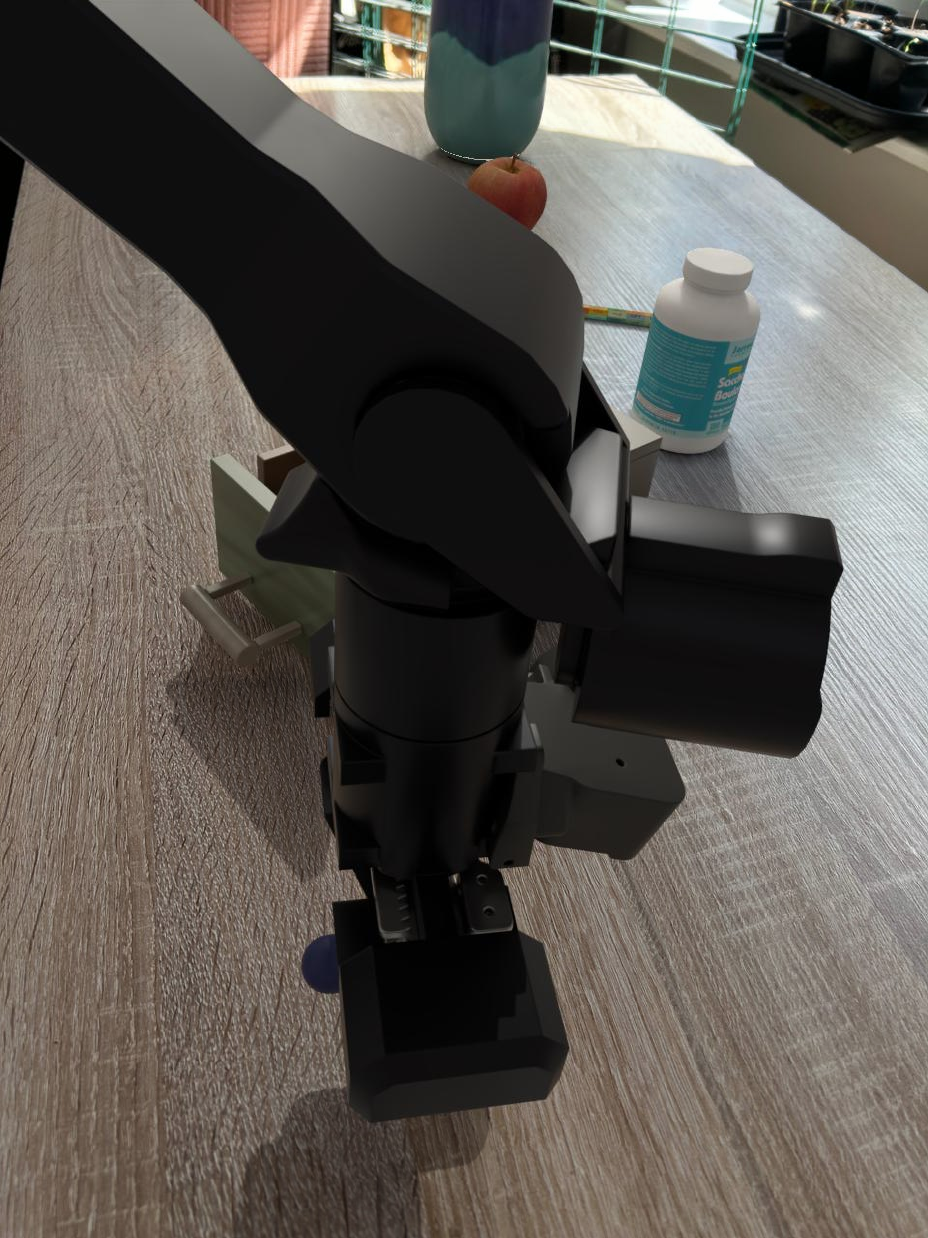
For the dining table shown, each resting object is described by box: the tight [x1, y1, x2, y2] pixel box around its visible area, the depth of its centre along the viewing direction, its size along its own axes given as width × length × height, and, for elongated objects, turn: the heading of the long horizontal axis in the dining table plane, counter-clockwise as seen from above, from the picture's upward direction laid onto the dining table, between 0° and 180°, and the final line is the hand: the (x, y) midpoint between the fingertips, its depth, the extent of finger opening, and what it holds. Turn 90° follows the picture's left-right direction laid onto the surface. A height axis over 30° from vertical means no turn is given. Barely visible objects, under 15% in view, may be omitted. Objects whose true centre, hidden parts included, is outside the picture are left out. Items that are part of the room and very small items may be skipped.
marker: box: [300, 933, 340, 995], centre depth 42 cm, size 8×2×2 cm, turn 100°
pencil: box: [583, 303, 653, 327], centre depth 95 cm, size 1×1×18 cm
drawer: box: [179, 443, 335, 668], centre depth 59 cm, size 18×12×8 cm
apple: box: [466, 152, 548, 231], centre depth 105 cm, size 8×8×8 cm
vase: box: [423, 0, 554, 166], centre depth 116 cm, size 14×14×31 cm
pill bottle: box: [630, 247, 761, 455], centre depth 77 cm, size 8×7×14 cm
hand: (403, 957), depth 42 cm, fingers closed on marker, 2 cm apart
